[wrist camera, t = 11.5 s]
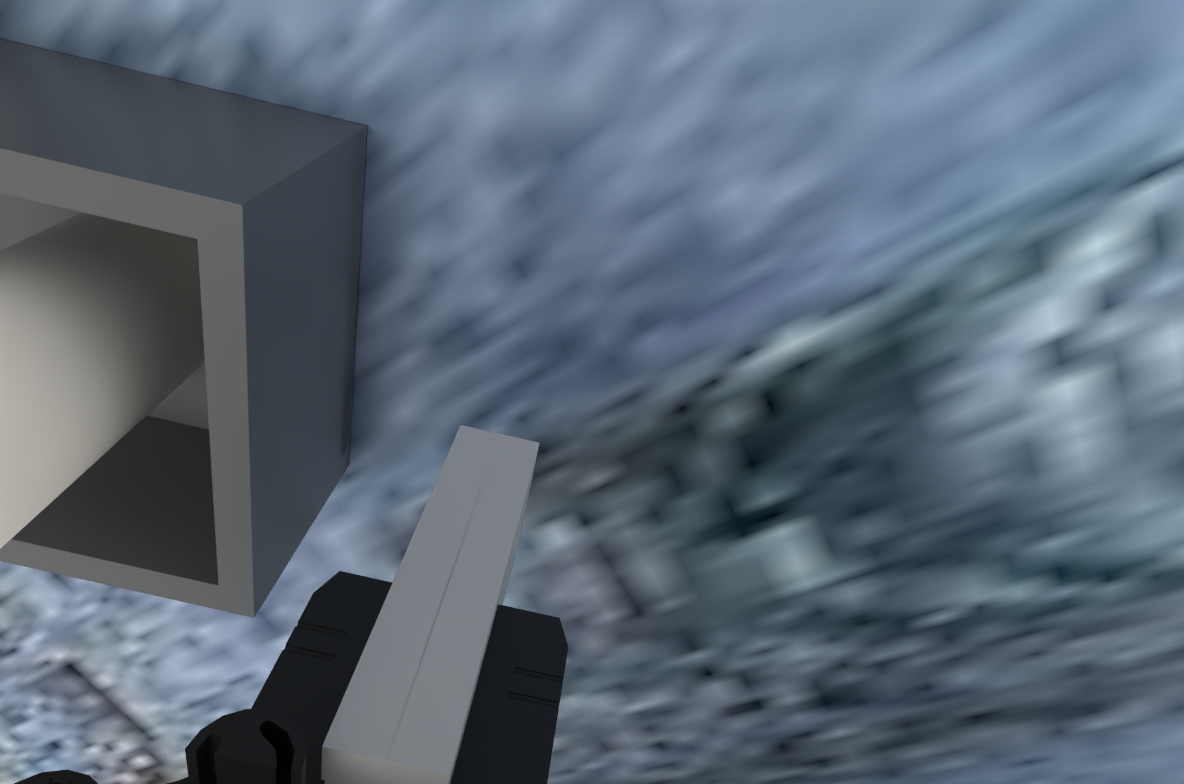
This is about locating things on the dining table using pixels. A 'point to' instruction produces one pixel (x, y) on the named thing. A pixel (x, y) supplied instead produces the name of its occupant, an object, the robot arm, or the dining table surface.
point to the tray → (253, 316)
